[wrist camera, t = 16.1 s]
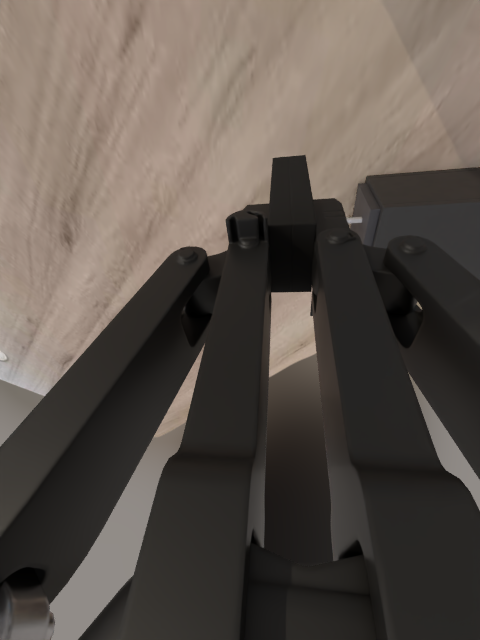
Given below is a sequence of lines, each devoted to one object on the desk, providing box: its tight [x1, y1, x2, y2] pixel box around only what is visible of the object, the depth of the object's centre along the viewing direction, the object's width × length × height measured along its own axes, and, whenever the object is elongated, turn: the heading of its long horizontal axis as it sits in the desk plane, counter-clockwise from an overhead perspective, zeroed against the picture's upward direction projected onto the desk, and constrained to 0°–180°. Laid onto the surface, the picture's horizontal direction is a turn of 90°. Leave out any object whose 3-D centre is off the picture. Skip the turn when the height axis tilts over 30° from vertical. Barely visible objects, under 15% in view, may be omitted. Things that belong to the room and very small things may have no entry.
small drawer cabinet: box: [366, 167, 480, 280], centre depth 41 cm, size 16×14×10 cm
